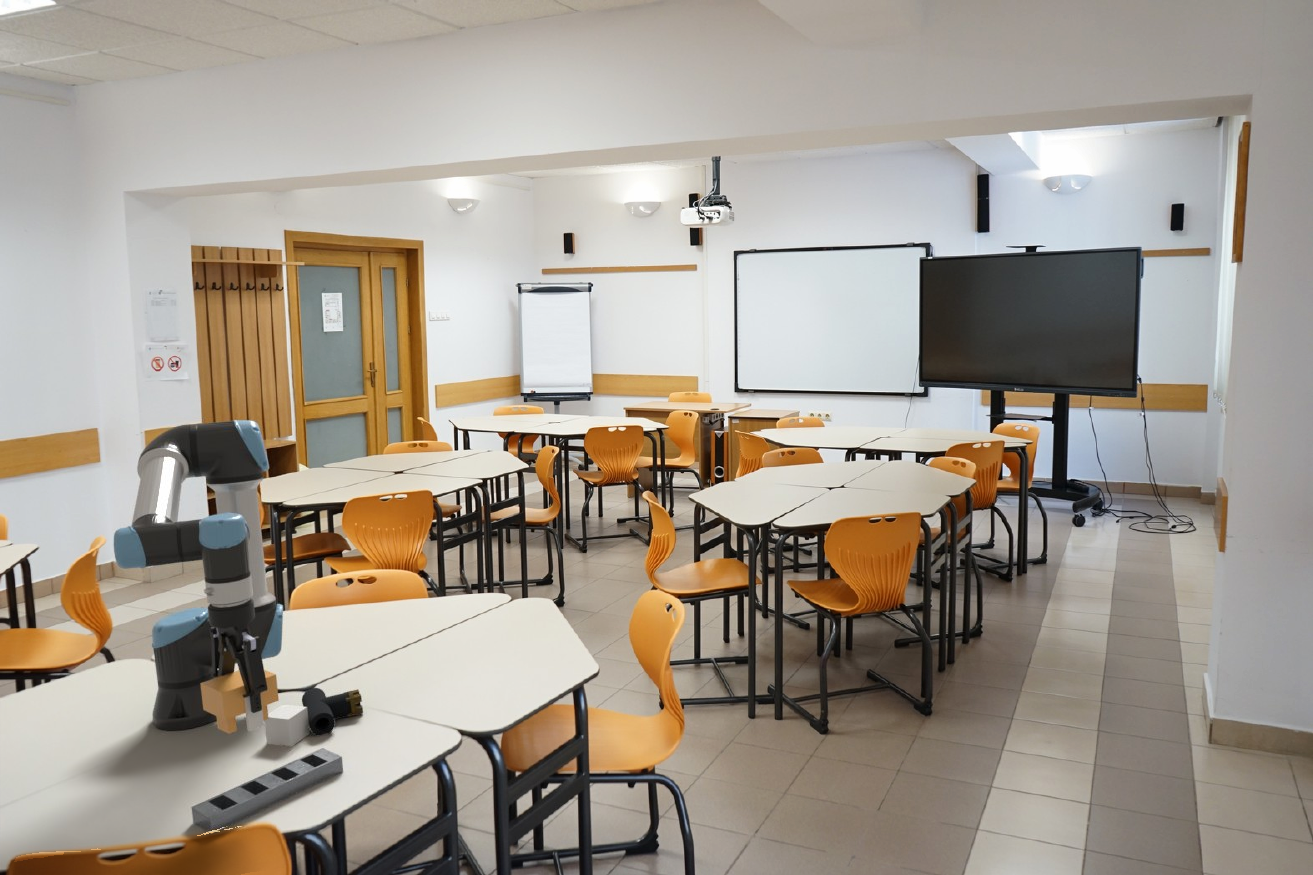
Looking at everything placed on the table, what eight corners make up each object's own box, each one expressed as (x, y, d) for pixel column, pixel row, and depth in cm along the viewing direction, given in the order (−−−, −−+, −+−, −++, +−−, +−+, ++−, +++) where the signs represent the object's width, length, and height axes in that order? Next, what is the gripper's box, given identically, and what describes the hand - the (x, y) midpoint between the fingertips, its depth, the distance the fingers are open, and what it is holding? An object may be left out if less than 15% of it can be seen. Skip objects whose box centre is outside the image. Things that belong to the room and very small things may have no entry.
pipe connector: (353, 678, 215) (365, 702, 202) (356, 700, 216) (367, 725, 202) (300, 690, 210) (308, 715, 197) (303, 712, 211) (311, 739, 197)
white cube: (309, 733, 199) (307, 706, 198) (291, 746, 194) (288, 719, 193) (285, 731, 201) (283, 704, 200) (266, 743, 195) (263, 716, 194)
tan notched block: (205, 728, 170) (200, 683, 169) (258, 708, 178) (253, 665, 177) (227, 739, 165) (222, 693, 164) (280, 718, 173) (276, 674, 172)
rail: (193, 822, 166) (191, 807, 166) (324, 762, 186) (322, 747, 186) (211, 834, 162) (209, 818, 162) (343, 771, 182) (341, 756, 182)
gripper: (182, 597, 172) (196, 715, 175) (239, 617, 159) (252, 744, 162) (222, 586, 178) (235, 701, 181) (280, 605, 165) (293, 728, 168)
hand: (243, 721), depth 172 cm, fingers closed on tan notched block, 8 cm apart
